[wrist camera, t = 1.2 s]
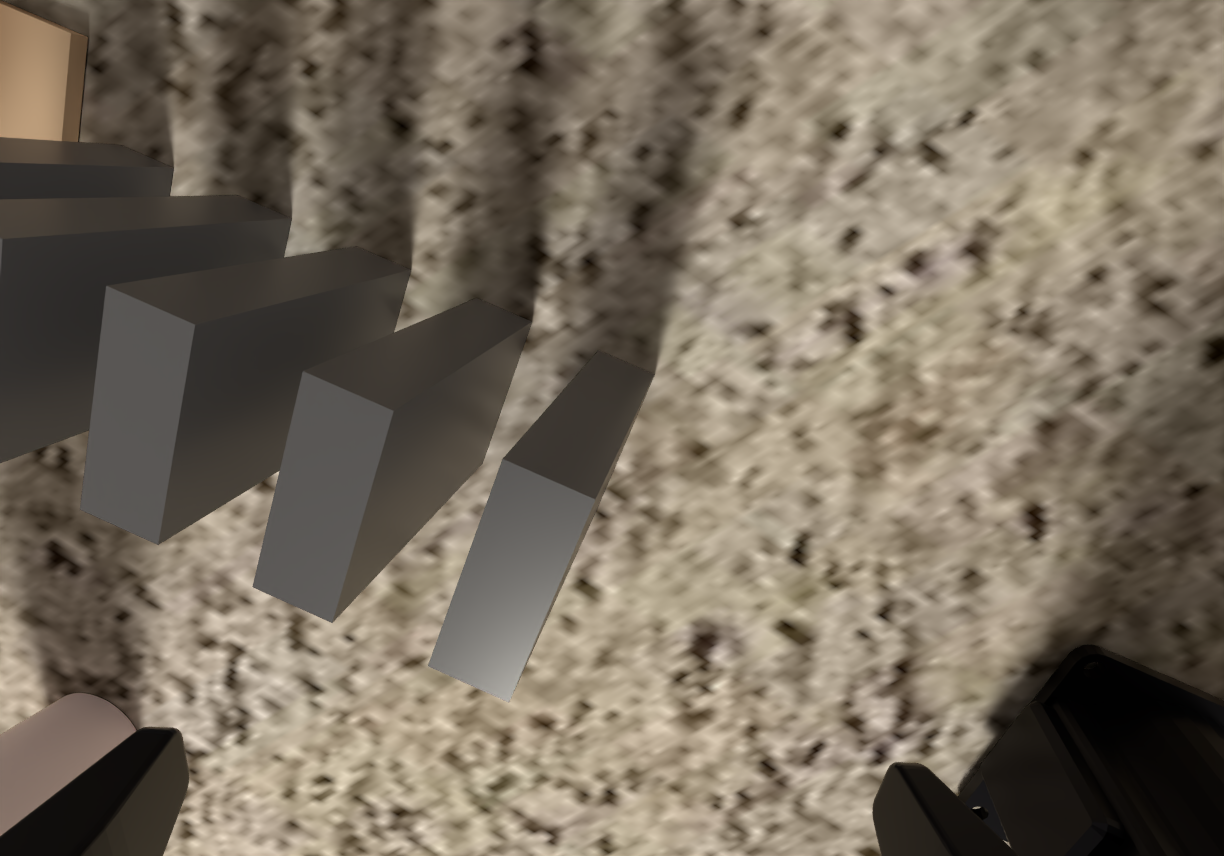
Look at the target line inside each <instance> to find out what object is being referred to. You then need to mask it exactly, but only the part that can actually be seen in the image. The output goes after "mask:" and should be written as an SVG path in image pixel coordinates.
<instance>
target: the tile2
mask: <svg viewBox="0 0 1224 856" xmlns="http://www.w3.org/2000/svg"><path fill="white" fill-rule="evenodd" d="M531 324H532V322H531V321H529V320H527V319H525V318H522V317H520V316H518V315H515V314H513V313H511V312H508V311H506V310H504V309H501V308H499V307H497V306H494V305H492V304H490V303H487V302H485V301H483V300H480V299H478V298H475V299H473V300H471V301H468V302H466V303H464V304H461V305H459V306H456V307H454V308H452V309H449V310H447V311H445V312H442V313H440V314H437V315H435V316H433V317H430V318H428V319H426V320H423V321H421V322H418V323H416V324H414V325H411V326H409V327H407V328H404V329H402V330H399V331H397V332H395V333H392V334H390V335H388V336H385V337H383V338H380V339H378V340H376V341H373V342H371V343H369V344H366V345H364V346H361V347H359V348H357V349H354V350H352V351H350V352H347V353H345V354H342V355H340V356H338V357H335V358H333V359H331V360H328V361H326V362H323V363H321V364H319V365H316V366H314V367H312V368H309V369H307V370H304V371H303V373H302V377H301V381H300V386H299V390H298V394H297V399H296V403H295V407H294V411H293V416H292V420H291V424H290V429H289V433H288V437H287V441H286V446H285V450H284V454H283V459H282V463H281V467H280V472H279V476H278V480H277V484H276V489H275V493H274V497H273V502H272V506H271V510H270V514H269V519H268V523H267V527H266V532H265V536H264V540H263V545H262V549H261V553H260V557H259V562H258V566H257V570H256V575H255V579H254V583H253V587H254V588H256V589H258V590H260V591H262V592H265V593H267V594H269V595H271V596H274V597H276V598H278V599H280V600H282V601H285V602H287V603H289V604H291V605H294V606H296V607H298V608H300V609H302V610H305V611H307V612H309V613H311V614H313V615H316V616H318V617H320V618H322V619H325V620H327V621H329V622H331V623H333V622H334V621H335V620H336V618H337V617H338V616H339V615H340V614H341V613H342V612H343V611H344V610H345V609H346V608H347V607H348V606H349V605H350V604H351V603H352V601H353V600H354V599H355V598H356V597H357V596H358V595H359V594H360V593H361V592H362V591H363V590H364V589H365V588H366V587H367V586H368V585H369V583H370V582H371V581H372V580H373V579H374V578H375V577H376V576H377V575H378V574H379V573H380V572H381V571H382V570H383V569H384V568H385V566H386V565H387V564H388V563H389V562H390V561H391V560H392V559H393V558H394V557H395V556H396V555H397V554H398V553H399V552H400V551H401V549H402V548H403V547H404V546H405V545H406V544H407V543H408V542H409V541H410V540H411V539H412V538H413V537H414V536H415V535H416V534H417V532H418V531H419V530H420V529H421V528H422V527H423V526H424V525H425V524H426V523H427V522H428V521H429V520H430V519H431V518H432V517H433V516H434V514H435V513H436V512H437V511H438V510H439V509H440V508H441V507H442V506H443V505H444V504H445V503H446V502H447V501H448V500H449V499H450V497H451V496H452V495H453V494H454V493H455V492H456V491H457V490H458V489H459V488H460V487H461V486H462V485H463V484H464V483H465V482H466V480H467V479H468V478H469V477H470V476H471V475H472V474H473V473H474V472H475V471H476V470H477V469H478V468H479V467H480V466H481V465H482V464H483V461H484V458H485V455H486V452H487V449H488V447H489V444H490V441H491V438H492V435H493V432H494V429H495V427H496V424H497V421H498V418H499V415H500V412H501V409H502V407H503V404H504V401H505V398H506V395H507V392H508V390H509V387H510V384H511V381H512V378H513V375H514V372H515V370H516V367H517V364H518V361H519V358H520V355H521V352H522V350H523V347H524V344H525V341H526V338H527V335H528V332H529V330H530V327H531Z"/></svg>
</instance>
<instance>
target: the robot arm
mask: <svg viewBox="0 0 1224 856" xmlns="http://www.w3.org/2000/svg"><path fill="white" fill-rule="evenodd" d="M1092 662H1098V663H1097V665H1096V666H1095V667H1093V668H1090V669H1084V667H1085V666H1086V665H1087V664H1089V663H1092ZM188 783H189V769H188V764H187V758H186V753H185V747H184V742H183V737H182V734H181V732H180V731H179V730H178V729H176V728H167V727H144V728H141V729H139V730H137V731H136V732H134V733H133V734H131V735H130V736H129V737H128V738H126V739H125V740H124V741H122V742H121V743H120V744H119V745H117V746H116V747H115V748H113V749H112V750H111V751H109V752H108V753H107V754H106V755H104V756H103V757H102V758H100V759H99V760H98V761H97V762H95V763H94V764H93V765H91V766H90V767H89V768H87V769H86V770H85V771H84V772H82V773H81V774H80V775H78V776H77V777H76V778H75V779H73V780H72V781H71V782H69V783H68V784H67V785H65V786H64V787H63V788H62V789H60V790H59V791H58V792H56V793H55V794H54V795H53V796H51V797H50V798H49V799H47V800H46V801H45V802H43V803H42V804H41V805H40V806H38V807H37V808H36V809H34V810H33V811H32V812H31V813H29V814H28V815H27V816H25V817H24V818H23V819H21V820H20V821H19V822H18V823H16V824H15V825H14V826H12V827H11V828H10V829H9V830H7V831H6V832H5V833H3V834H2V835H1V836H0V856H163V854H164V851H165V849H166V846H167V843H168V841H169V838H170V835H171V833H172V830H173V827H174V825H175V822H176V819H177V817H178V814H179V811H180V809H181V806H182V803H183V801H184V798H185V795H186V792H187V788H188ZM977 806H981V808H979V809H972V808H973V807H977ZM873 821H874V826H875V830H876V834H877V839H878V843H879V847H880V852H881V856H1224V701H1223V700H1221V699H1219V698H1217V697H1214V696H1212V695H1210V694H1207V693H1205V692H1203V691H1200V690H1198V689H1196V688H1193V687H1191V686H1189V685H1187V684H1184V683H1182V682H1180V681H1177V680H1175V679H1173V678H1170V677H1168V676H1166V675H1163V674H1161V673H1159V672H1157V671H1154V670H1152V669H1150V668H1147V667H1145V666H1143V665H1140V664H1138V663H1136V662H1134V661H1131V660H1129V659H1127V658H1124V657H1122V656H1120V655H1117V654H1115V653H1113V652H1110V651H1108V650H1106V649H1104V648H1101V647H1099V646H1095V645H1082V646H1080V647H1077V648H1075V649H1074V650H1073V651H1072V652H1070V653H1069V655H1068V656H1067V657H1066V659H1065V660H1064V661H1063V662H1062V664H1061V665H1060V666H1059V667H1058V669H1057V670H1056V671H1055V673H1054V674H1053V675H1052V676H1051V678H1050V679H1049V680H1048V682H1047V683H1046V684H1045V685H1044V687H1043V688H1042V689H1041V691H1040V692H1039V693H1038V694H1037V696H1036V697H1035V698H1034V699H1033V701H1032V702H1031V703H1030V704H1029V705H1027V706H1026V707H1025V708H1024V710H1023V711H1022V712H1021V713H1020V715H1019V716H1018V717H1017V719H1016V720H1015V721H1014V722H1013V724H1012V725H1011V726H1010V727H1009V729H1008V730H1007V731H1006V733H1005V734H1004V735H1003V736H1002V738H1001V739H1000V740H999V742H998V743H997V744H996V745H995V747H994V748H993V749H992V751H991V752H990V753H989V754H988V756H987V757H986V758H985V760H984V761H983V762H982V763H981V765H980V769H979V770H978V771H977V772H976V774H975V775H974V776H973V778H972V779H971V780H970V781H969V783H968V784H967V785H966V787H965V788H964V789H963V790H962V792H961V793H960V794H959V796H957V795H956V794H955V793H953V792H952V791H951V790H950V789H949V788H948V787H947V786H946V785H945V784H944V783H943V782H942V781H941V780H940V779H939V778H938V777H937V776H936V775H935V774H934V773H933V772H932V771H931V770H930V769H928V768H927V767H926V766H924V765H922V764H918V763H903V762H896V763H893V764H892V765H890V766H889V768H888V770H887V772H886V774H885V777H884V779H883V781H882V783H881V786H880V788H879V790H878V793H877V795H876V797H875V799H874V803H873ZM1003 840H1004V841H1007V842H1009V844H1010V847H1011V848H1010V847H1009V846H1008V845H1007V844H1006V843H1005V842H1004V841H1003Z"/></svg>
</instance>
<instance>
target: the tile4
mask: <svg viewBox="0 0 1224 856" xmlns="http://www.w3.org/2000/svg"><path fill="white" fill-rule="evenodd" d="M291 220H292V218H289V217H287V216H285V215H282V214H280V213H278V212H275V211H273V210H271V209H269V208H266V207H264V206H262V205H259V204H257V203H255V202H252V201H250V200H248V199H245V198H243V197H241V196H238V195H224V196H167V197H110V198H53V199H0V463H2V462H5V461H8V460H10V459H13V458H16V457H18V456H21V455H24V454H26V453H29V452H32V451H34V450H37V449H40V448H42V447H45V446H48V445H51V444H53V443H56V442H59V441H61V440H64V439H67V438H69V437H72V436H75V435H77V434H80V433H83V432H85V431H88V430H89V429H90V420H91V412H92V403H93V395H94V386H95V378H96V369H97V361H98V352H99V343H100V335H101V326H102V318H103V309H104V301H105V292H106V286H107V285H114V284H120V283H127V282H133V281H139V280H146V279H152V278H158V277H165V276H171V275H177V274H184V273H190V272H196V271H203V270H209V269H215V268H222V267H228V266H234V265H241V264H247V263H253V262H260V261H266V260H273V259H279V258H284V253H285V248H286V244H287V239H288V234H289V229H290V225H291Z"/></svg>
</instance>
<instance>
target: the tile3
mask: <svg viewBox="0 0 1224 856" xmlns="http://www.w3.org/2000/svg"><path fill="white" fill-rule="evenodd" d="M410 272H411V270H410V269H408V268H406V267H403V266H401V265H399V264H396V263H394V262H392V261H389V260H387V259H385V258H382V257H380V256H378V255H375V254H373V253H371V252H369V251H366V250H364V249H362V248H359V247H357V246H355V247H349V248H342V249H336V250H330V251H323V252H317V253H311V254H304V255H298V256H292V257H285V258H279V259H273V260H266V261H260V262H253V263H247V264H241V265H234V266H228V267H222V268H215V269H209V270H203V271H196V272H190V273H184V274H177V275H171V276H165V277H158V278H152V279H146V280H139V281H133V282H127V283H120V284H114V285H107V286H106V292H105V301H104V309H103V318H102V326H101V335H100V343H99V352H98V361H97V369H96V378H95V386H94V395H93V403H92V412H91V420H90V429H89V437H88V446H87V454H86V463H85V472H84V480H83V489H82V497H81V506H80V510H82V511H84V512H86V513H89V514H91V515H93V516H95V517H97V518H100V519H102V520H104V521H106V522H109V523H111V524H113V525H115V526H117V527H120V528H122V529H124V530H126V531H128V532H131V533H133V534H135V535H137V536H139V537H142V538H144V539H146V540H148V541H151V542H153V543H155V544H157V545H159V544H160V543H162V542H164V541H165V540H167V539H169V538H170V537H172V536H173V535H175V534H177V533H178V532H180V531H182V530H183V529H185V528H187V527H188V526H190V525H191V524H193V523H195V522H196V521H198V520H200V519H201V518H203V517H205V516H206V515H208V514H209V513H211V512H213V511H214V510H216V509H218V508H219V507H221V506H222V505H224V504H226V503H227V502H229V501H231V500H232V499H234V498H236V497H237V496H239V495H240V494H242V493H244V492H245V491H247V490H249V489H250V488H252V487H254V486H255V485H257V484H258V483H260V482H262V481H263V480H265V479H267V478H268V477H270V476H271V475H273V474H275V473H276V472H278V471H280V467H281V463H282V459H283V454H284V450H285V446H286V441H287V437H288V433H289V429H290V424H291V420H292V416H293V411H294V407H295V403H296V399H297V394H298V390H299V386H300V381H301V377H302V373H303V371H304V370H307V369H309V368H312V367H314V366H316V365H319V364H321V363H323V362H326V361H328V360H331V359H333V358H335V357H338V356H340V355H342V354H345V353H347V352H350V351H352V350H354V349H357V348H359V347H361V346H364V345H366V344H369V343H371V342H373V341H376V340H378V339H380V338H383V337H385V336H388V335H390V334H392V333H394V330H395V326H396V323H397V319H398V316H399V312H400V308H401V305H402V301H403V298H404V294H405V290H406V287H407V283H408V279H409V276H410Z"/></svg>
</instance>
